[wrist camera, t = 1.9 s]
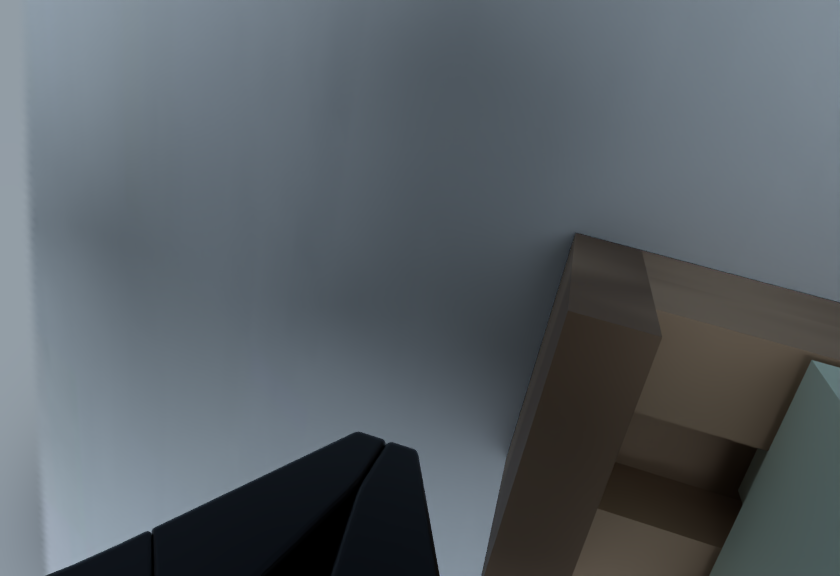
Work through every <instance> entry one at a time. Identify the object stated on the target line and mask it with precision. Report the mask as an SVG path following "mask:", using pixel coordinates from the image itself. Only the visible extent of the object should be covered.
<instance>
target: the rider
mask: <svg viewBox="0 0 840 576" xmlns="http://www.w3.org/2000/svg"><path fill="white" fill-rule="evenodd" d="M738 492H739V495H740V498H741V501H742V504H743V505H742V507H741V510H740V512H739V514H738V516H737V518H736V520H735V522H734V524H733V526H732V529H731V531H730V533H729V535H728V537H727V539H726V541H725V543H724V545H723V547H722V550H721V552H720V554H719V556H718V558H717V560H716V562H715V564H714V566H713V569H712V571H711V573H710V575H709V576H840V368H839V367H836V366H832V365H828V364H825V363H821V362H818V361H814V360H811V362H810V364H809V366H808V369H807V371H806V373H805V375H804V377H803V379H802V381H801V383H800V385H799V387H798V390H797V392H796V394H795V396H794V398H793V400H792V402H791V404H790V406H789V409H788V411H787V413H786V415H785V417H784V419H783V421H782V423H781V425H780V427H779V430H778V432H777V434H776V436H775V438H774V440H773V442H772V444H771V446H770V449H769V451H765V450H762V449H759V448H757V451H756V453H755V455H754V457H753V459H752V461H751V463H750V465H749V468H748V470H747V472H746V474H745V476H744V478H743V480H742V483H741V485H740V487H739V489H738Z"/></svg>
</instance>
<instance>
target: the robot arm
mask: <svg viewBox="0 0 840 576" xmlns="http://www.w3.org/2000/svg"><path fill="white" fill-rule="evenodd" d="M46 576H440V575H439V570H438V564H437V558H436V553H435V547H434V541H433V536H432V530H431V524H430V519H429V513H428V507H427V501H426V496H425V490H424V484H423V479H422V473H421V467H420V462H419V456H418V453H417V451H416V450H414V449H412V448H409V447H406V446H402V445H399V444H396V443H393V442H390V443H387V444H385V441H384V440H383V439H380V438H377V437H374V436H371V435H368V434H365V433H362V432H355V433H352V434H350V435H348V436H346V437H344V438H342V439H340V440H337V441H335V442H333V443H331V444H329V445H327V446H325V447H323V448H321V449H319V450H316V451H314V452H312V453H310V454H308V455H306V456H304V457H302V458H300V459H298V460H295V461H293V462H291V463H289V464H287V465H285V466H283V467H281V468H279V469H277V470H274V471H272V472H270V473H268V474H266V475H264V476H262V477H260V478H258V479H256V480H254V481H251V482H249V483H247V484H245V485H243V486H241V487H239V488H237V489H235V490H233V491H230V492H228V493H226V494H224V495H222V496H220V497H218V498H216V499H214V500H212V501H209V502H207V503H205V504H203V505H201V506H199V507H197V508H195V509H193V510H191V511H188V512H186V513H184V514H182V515H180V516H178V517H176V518H174V519H172V520H170V521H167V522H165V523H163V524H161V525H159V526H157V527H155V528H153V530H152V533H151V532H149V531H146V532H144V533H142V534H140V535H137V536H135V537H133V538H131V539H129V540H127V541H125V542H123V543H121V544H119V545H116V546H114V547H112V548H110V549H107V550H105V551H103V552H101V553H98V554H96V555H94V556H92V557H89V558H87V559H85V560H83V561H80V562H78V563H76V564H74V565H71V566H69V567H66V568H64V569H61V570H59V571H56V572H54V573H51V574H48V575H46Z"/></svg>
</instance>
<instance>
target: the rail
mask: <svg viewBox="0 0 840 576" xmlns="http://www.w3.org/2000/svg"><path fill="white" fill-rule="evenodd" d="M811 360H814V361H818V362H821V363H825V364H828V365H832V366H836V367H839V368H840V303H838V302H835V301H831V300H827V299H823V298H820V297H816V296H812V295H808V294H804V293H801V292H797V291H793V290H789V289H786V288H782V287H778V286H774V285H771V284H767V283H763V282H759V281H755V280H752V279H748V278H744V277H740V276H737V275H733V274H729V273H725V272H721V271H718V270H714V269H710V268H706V267H703V266H699V265H695V264H691V263H688V262H684V261H680V260H676V259H672V258H669V257H665V256H661V255H657V254H654V253H650V252H646V251H642V250H639V249H635V248H631V247H627V246H623V245H620V244H616V243H612V242H608V241H605V240H601V239H597V238H593V237H590V236H586V235H582V234H578V233H575V236H574V239H573V242H572V246H571V249H570V252H569V255H568V259H567V262H566V265H565V268H564V272H563V275H562V278H561V281H560V285H559V288H558V291H557V294H556V298H555V301H554V304H553V308H552V311H551V314H550V317H549V321H548V324H547V327H546V330H545V334H544V337H543V340H542V343H541V347H540V350H539V353H538V356H537V360H536V363H535V366H534V370H533V373H532V376H531V379H530V383H529V386H528V389H527V392H526V396H525V399H524V402H523V405H522V409H521V412H520V415H519V419H518V422H517V425H516V428H515V432H514V435H513V438H512V441H511V445H510V448H509V451H508V454H507V458H506V462H505V467H504V471H503V476H502V481H501V486H500V490H499V495H498V500H497V504H496V509H495V514H494V519H493V523H492V528H491V533H490V538H489V542H488V547H487V552H486V556H485V561H484V566H483V571H482V575H481V576H709V575H710V573H711V571H712V569H713V566H714V564H715V562H716V560H717V558H718V556H719V554H720V552H721V550H722V547H723V545H724V543H725V541H726V539H727V537H728V535H729V533H730V531H731V529H732V526H733V524H734V522H735V520H736V518H737V516H738V514H739V512H740V510H741V507H742V505H743V504H742V501H741V498H740V495H739V492H738V489H739V487H740V485H741V483H742V480H743V478H744V476H745V474H746V472H747V470H748V468H749V465H750V463H751V461H752V459H753V457H754V455H755V453H756V451H757V448H759V449H762V450H765V451H769V449H770V446H771V444H772V442H773V440H774V438H775V436H776V434H777V432H778V430H779V427H780V425H781V423H782V421H783V419H784V417H785V415H786V413H787V411H788V409H789V406H790V404H791V402H792V400H793V398H794V396H795V394H796V392H797V390H798V387H799V385H800V383H801V381H802V379H803V377H804V375H805V373H806V371H807V369H808V366H809V364H810V362H811Z"/></svg>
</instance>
